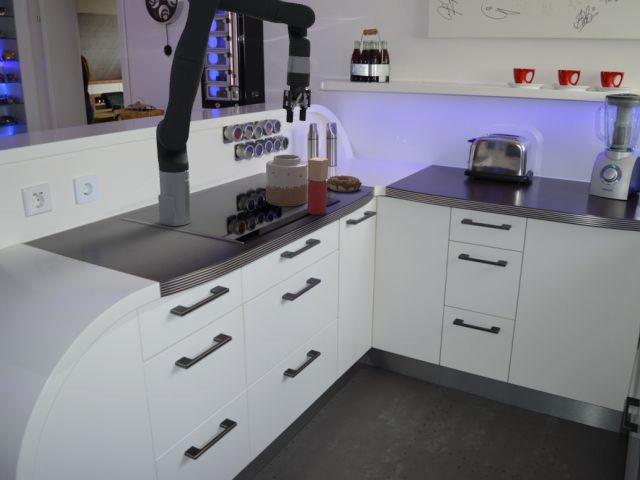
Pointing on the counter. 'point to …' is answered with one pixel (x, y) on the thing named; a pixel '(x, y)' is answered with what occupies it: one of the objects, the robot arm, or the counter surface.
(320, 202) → the beer can
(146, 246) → the counter surface
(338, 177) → the donut
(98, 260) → the counter surface
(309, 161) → the block
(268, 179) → the vase
